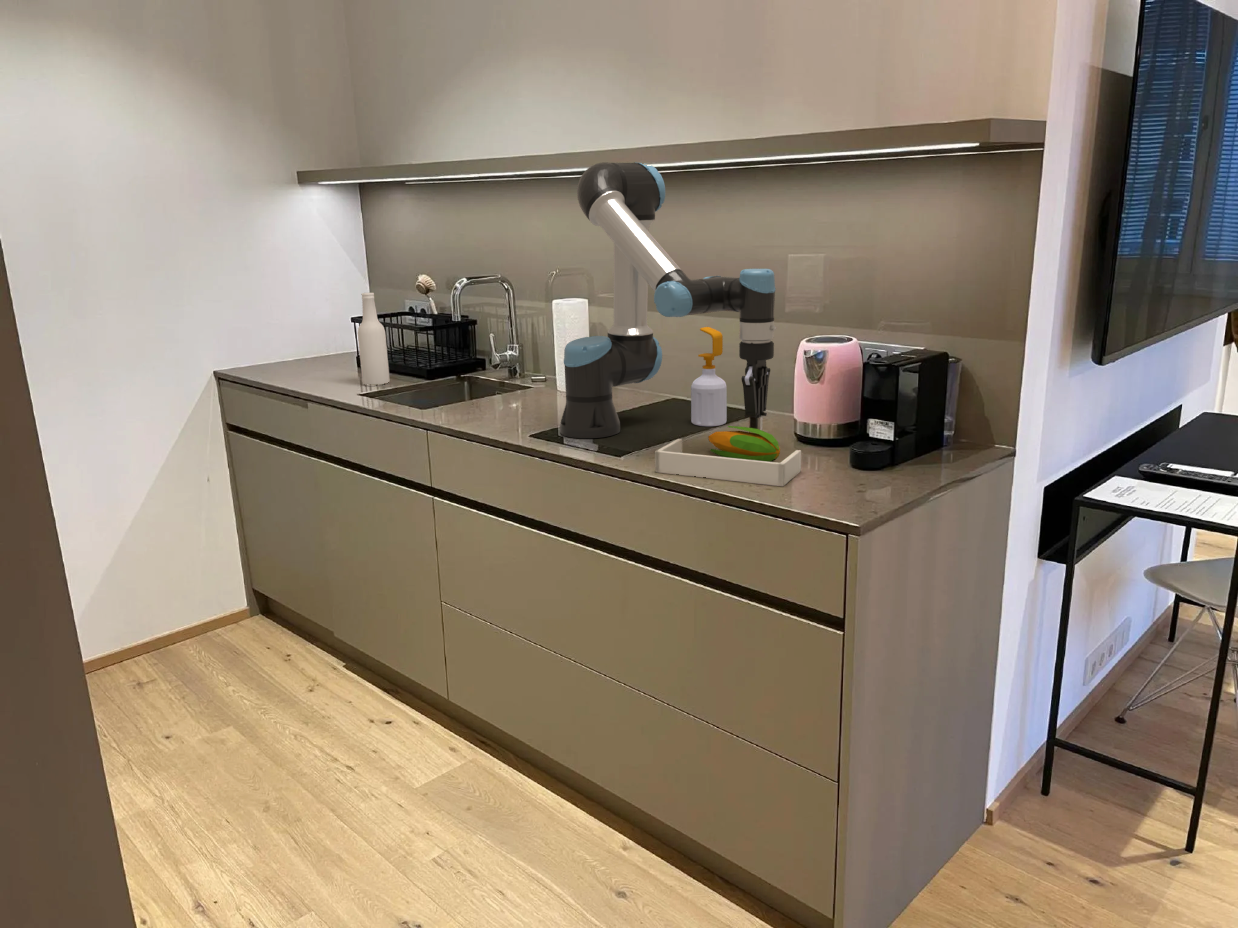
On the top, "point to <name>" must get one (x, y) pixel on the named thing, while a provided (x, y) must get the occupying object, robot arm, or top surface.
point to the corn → (745, 444)
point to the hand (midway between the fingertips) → (755, 444)
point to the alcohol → (372, 344)
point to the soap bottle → (709, 388)
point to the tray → (726, 466)
